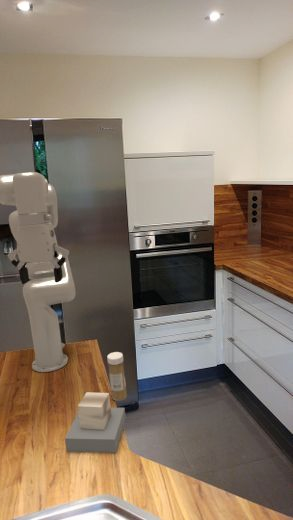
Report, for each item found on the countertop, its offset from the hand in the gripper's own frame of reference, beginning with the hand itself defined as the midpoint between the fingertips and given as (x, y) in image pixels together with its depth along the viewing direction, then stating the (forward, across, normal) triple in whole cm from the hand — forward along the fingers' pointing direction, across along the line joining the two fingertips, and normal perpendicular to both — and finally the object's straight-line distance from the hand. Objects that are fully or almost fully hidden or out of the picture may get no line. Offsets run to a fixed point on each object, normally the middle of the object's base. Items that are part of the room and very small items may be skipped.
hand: (42, 282), depth 98 cm
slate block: (+37, -16, +14) cm, 43 cm away
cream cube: (+33, -16, +14) cm, 39 cm away
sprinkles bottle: (+36, -18, -2) cm, 41 cm away
